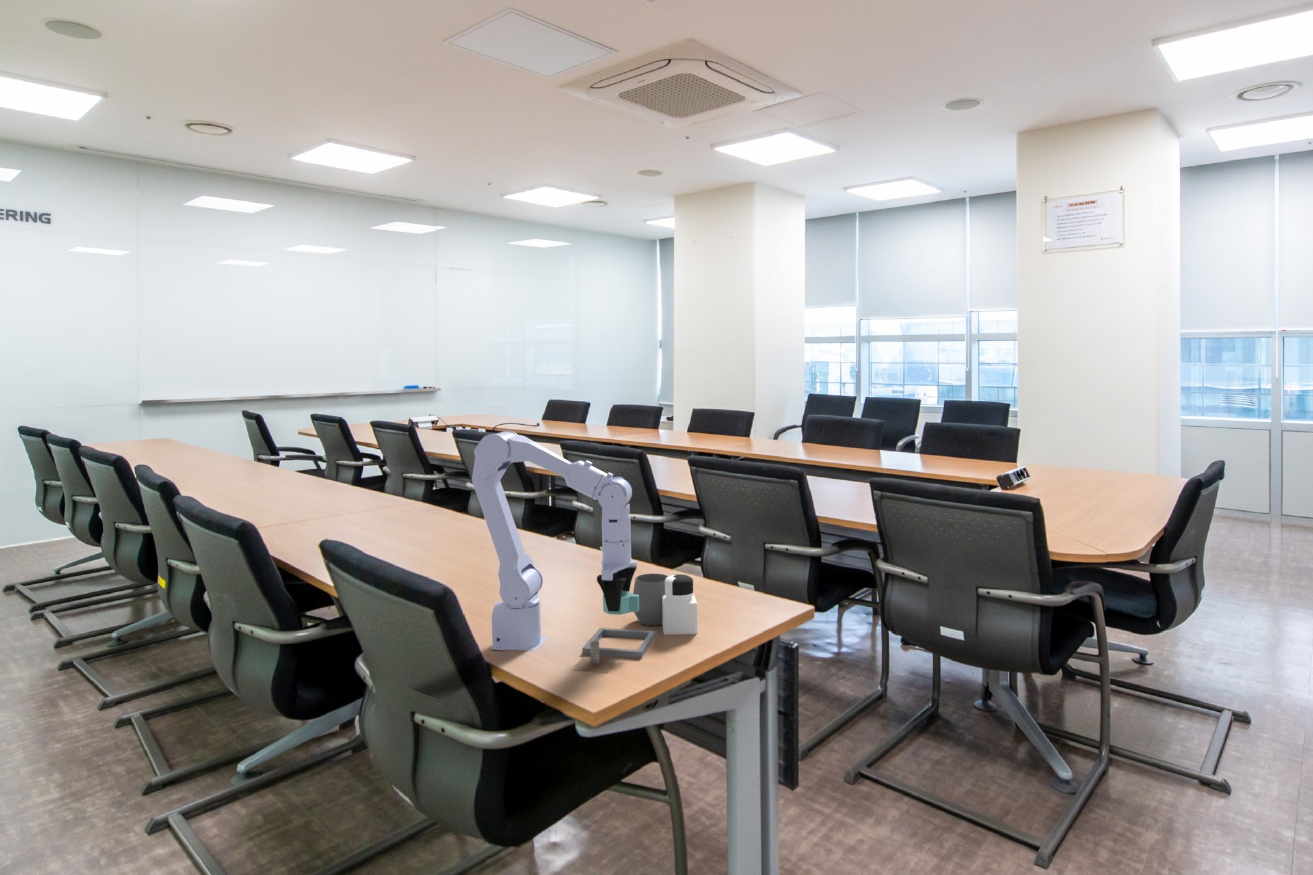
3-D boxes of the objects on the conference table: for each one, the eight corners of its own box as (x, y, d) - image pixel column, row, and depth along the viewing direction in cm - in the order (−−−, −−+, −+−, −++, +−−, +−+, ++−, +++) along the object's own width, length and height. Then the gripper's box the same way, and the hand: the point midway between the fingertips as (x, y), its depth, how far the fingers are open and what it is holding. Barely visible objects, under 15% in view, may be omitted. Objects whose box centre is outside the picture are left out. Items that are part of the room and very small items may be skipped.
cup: (637, 630, 165) (636, 585, 164) (627, 617, 174) (626, 574, 173) (679, 626, 167) (678, 581, 166) (667, 613, 176) (666, 570, 175)
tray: (582, 656, 150) (582, 648, 150) (600, 636, 162) (599, 627, 161) (641, 661, 147) (641, 652, 147) (655, 639, 159) (655, 631, 159)
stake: (571, 673, 142) (571, 648, 142) (583, 659, 149) (582, 635, 148) (607, 675, 140) (607, 650, 140) (618, 661, 147) (617, 637, 147)
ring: (600, 613, 151) (600, 597, 151) (608, 605, 156) (608, 589, 156) (634, 615, 149) (634, 599, 149) (641, 606, 155) (641, 591, 154)
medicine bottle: (694, 625, 168) (694, 571, 166) (697, 636, 160) (697, 580, 159) (662, 626, 167) (661, 572, 166) (663, 637, 160) (663, 581, 159)
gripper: (626, 548, 144) (627, 618, 145) (644, 532, 158) (645, 596, 159) (590, 547, 145) (592, 616, 147) (612, 531, 159) (613, 594, 161)
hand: (617, 606), depth 153 cm, fingers closed on ring, 6 cm apart
